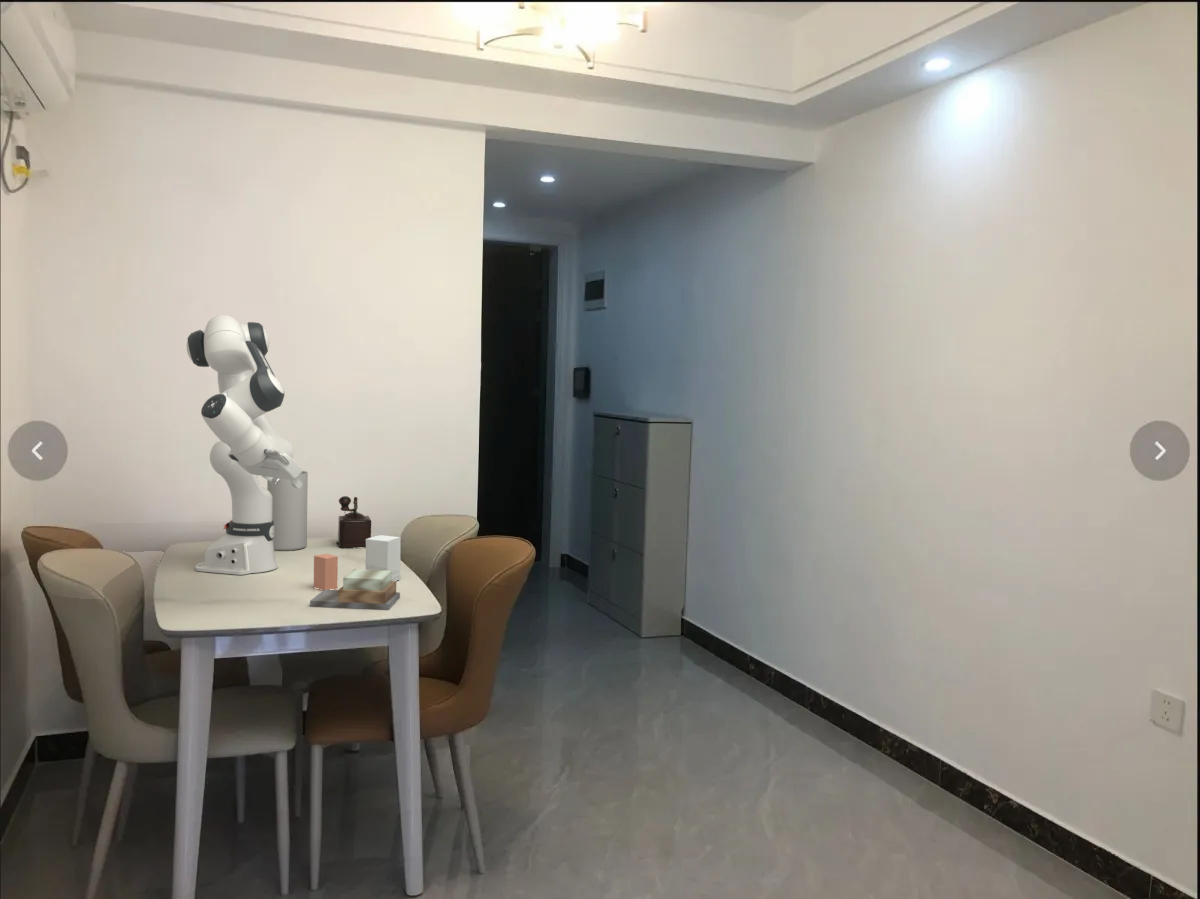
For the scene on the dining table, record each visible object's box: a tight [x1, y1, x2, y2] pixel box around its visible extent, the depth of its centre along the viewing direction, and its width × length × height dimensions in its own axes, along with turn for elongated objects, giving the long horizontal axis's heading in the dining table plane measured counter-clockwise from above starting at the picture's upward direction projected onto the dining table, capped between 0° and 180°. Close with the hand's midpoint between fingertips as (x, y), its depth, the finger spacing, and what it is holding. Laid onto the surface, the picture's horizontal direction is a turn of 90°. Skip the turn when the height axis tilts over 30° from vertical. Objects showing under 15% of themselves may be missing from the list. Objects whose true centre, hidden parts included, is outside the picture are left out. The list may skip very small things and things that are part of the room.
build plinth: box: [309, 568, 401, 611], centre depth 235 cm, size 20×12×8 cm, turn 89°
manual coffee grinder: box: [336, 495, 372, 549], centre depth 305 cm, size 16×11×18 cm
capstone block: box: [313, 553, 339, 591], centre depth 248 cm, size 4×5×9 cm
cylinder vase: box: [266, 470, 309, 552], centre depth 299 cm, size 12×12×25 cm
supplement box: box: [365, 534, 402, 582], centre depth 258 cm, size 7×7×13 cm
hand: (288, 484), depth 236 cm, fingers open, 8 cm apart
